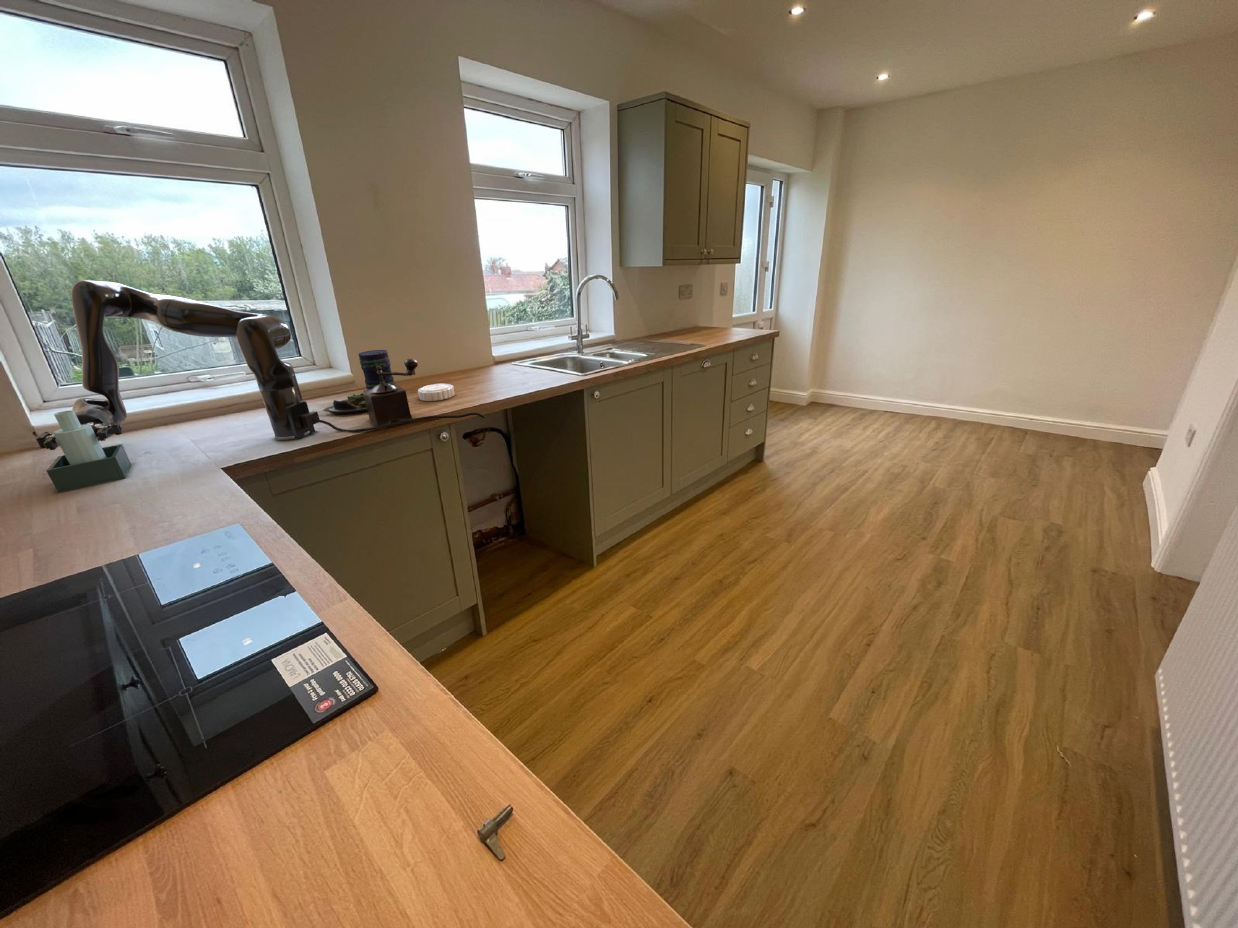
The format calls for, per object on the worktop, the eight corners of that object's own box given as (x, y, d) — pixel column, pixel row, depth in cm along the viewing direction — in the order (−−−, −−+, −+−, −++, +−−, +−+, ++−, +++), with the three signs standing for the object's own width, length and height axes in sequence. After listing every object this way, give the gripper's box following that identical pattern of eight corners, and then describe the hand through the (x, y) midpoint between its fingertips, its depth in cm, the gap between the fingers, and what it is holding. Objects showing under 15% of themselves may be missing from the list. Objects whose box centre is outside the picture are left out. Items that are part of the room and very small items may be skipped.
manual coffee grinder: (377, 428, 147) (362, 367, 140) (368, 419, 155) (354, 362, 148) (430, 416, 156) (418, 358, 148) (419, 409, 164) (407, 353, 157)
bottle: (119, 471, 124) (89, 408, 117) (89, 481, 118) (56, 417, 112) (101, 469, 125) (70, 408, 119) (71, 480, 120) (37, 416, 113)
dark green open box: (131, 464, 129) (122, 444, 127) (125, 478, 120) (115, 456, 118) (69, 476, 123) (58, 456, 121) (58, 492, 114) (46, 470, 112)
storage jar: (361, 395, 183) (351, 354, 178) (382, 388, 192) (373, 349, 186) (382, 397, 180) (372, 355, 174) (402, 390, 188) (393, 350, 182)
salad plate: (338, 402, 176) (334, 389, 175) (391, 396, 180) (388, 384, 178) (320, 418, 159) (316, 404, 157) (380, 412, 162) (377, 398, 160)
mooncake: (413, 398, 177) (411, 388, 176) (444, 390, 185) (442, 380, 184) (429, 403, 169) (427, 393, 168) (461, 395, 177) (459, 385, 176)
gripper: (42, 417, 123) (23, 433, 111) (119, 405, 131) (110, 419, 119) (57, 445, 126) (40, 464, 114) (132, 432, 134) (123, 448, 122)
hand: (76, 441), depth 116 cm, fingers open, 8 cm apart
